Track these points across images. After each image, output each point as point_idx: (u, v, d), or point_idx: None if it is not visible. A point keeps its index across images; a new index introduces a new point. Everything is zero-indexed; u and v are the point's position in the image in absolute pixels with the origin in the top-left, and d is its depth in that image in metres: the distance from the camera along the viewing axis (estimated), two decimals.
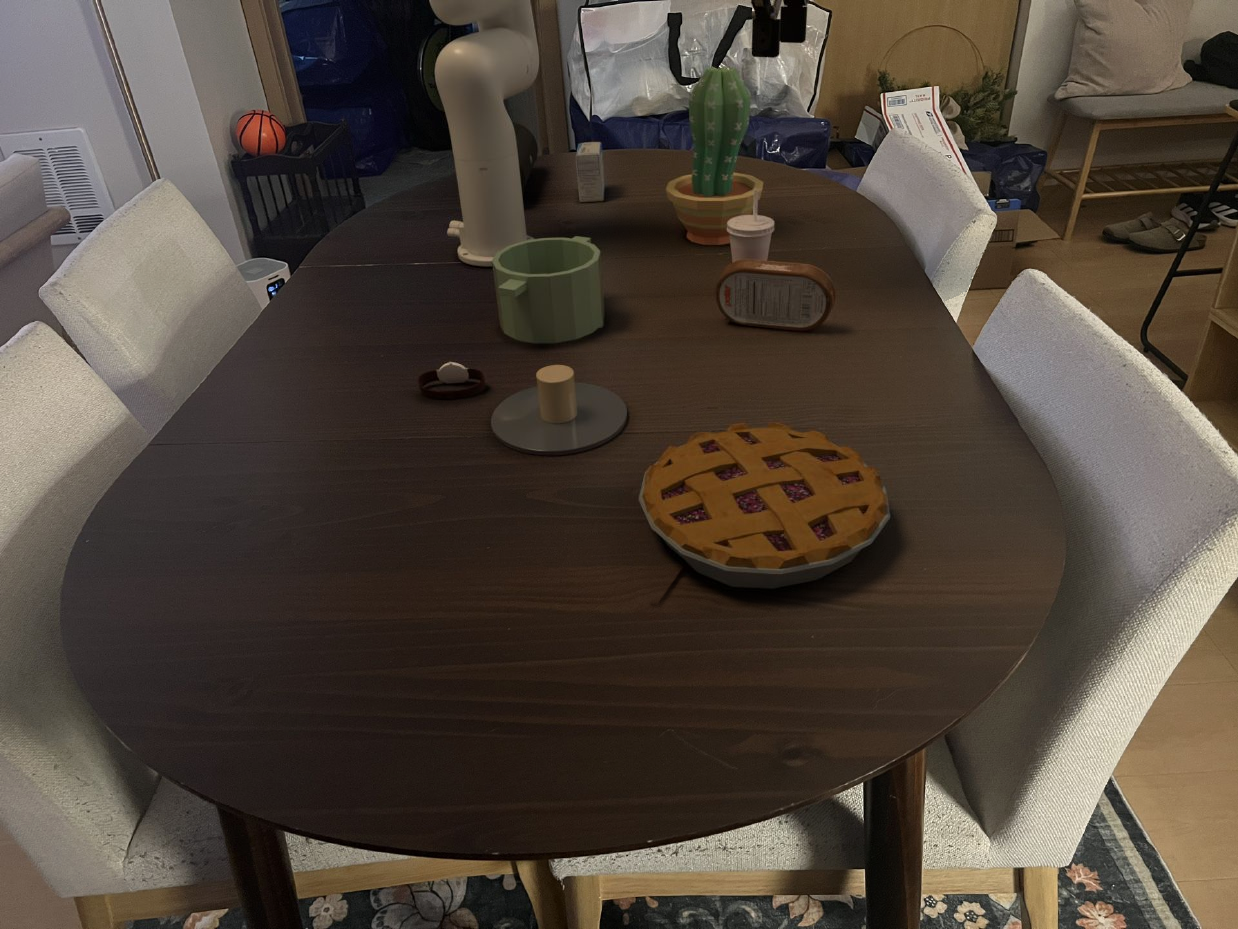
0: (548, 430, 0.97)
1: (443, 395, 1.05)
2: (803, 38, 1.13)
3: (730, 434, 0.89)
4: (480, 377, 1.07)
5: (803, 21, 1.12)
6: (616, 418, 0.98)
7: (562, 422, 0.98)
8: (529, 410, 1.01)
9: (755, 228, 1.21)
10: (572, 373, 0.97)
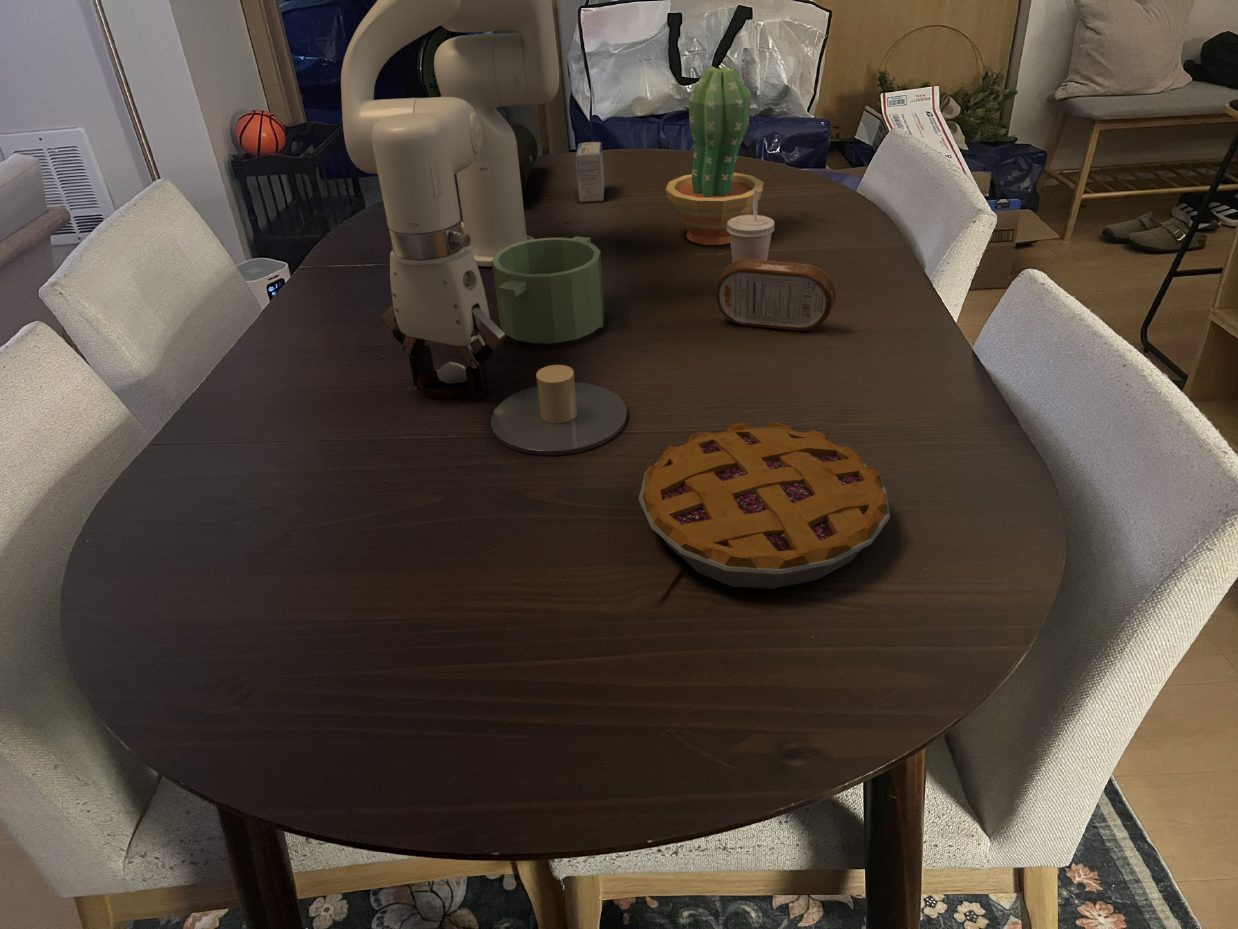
0: (548, 430, 0.97)
1: (443, 395, 1.05)
2: (470, 395, 1.04)
3: (730, 434, 0.89)
4: None
5: (468, 379, 1.03)
6: (616, 418, 0.98)
7: (562, 422, 0.98)
8: (529, 410, 1.01)
9: (755, 228, 1.21)
10: (572, 373, 0.97)
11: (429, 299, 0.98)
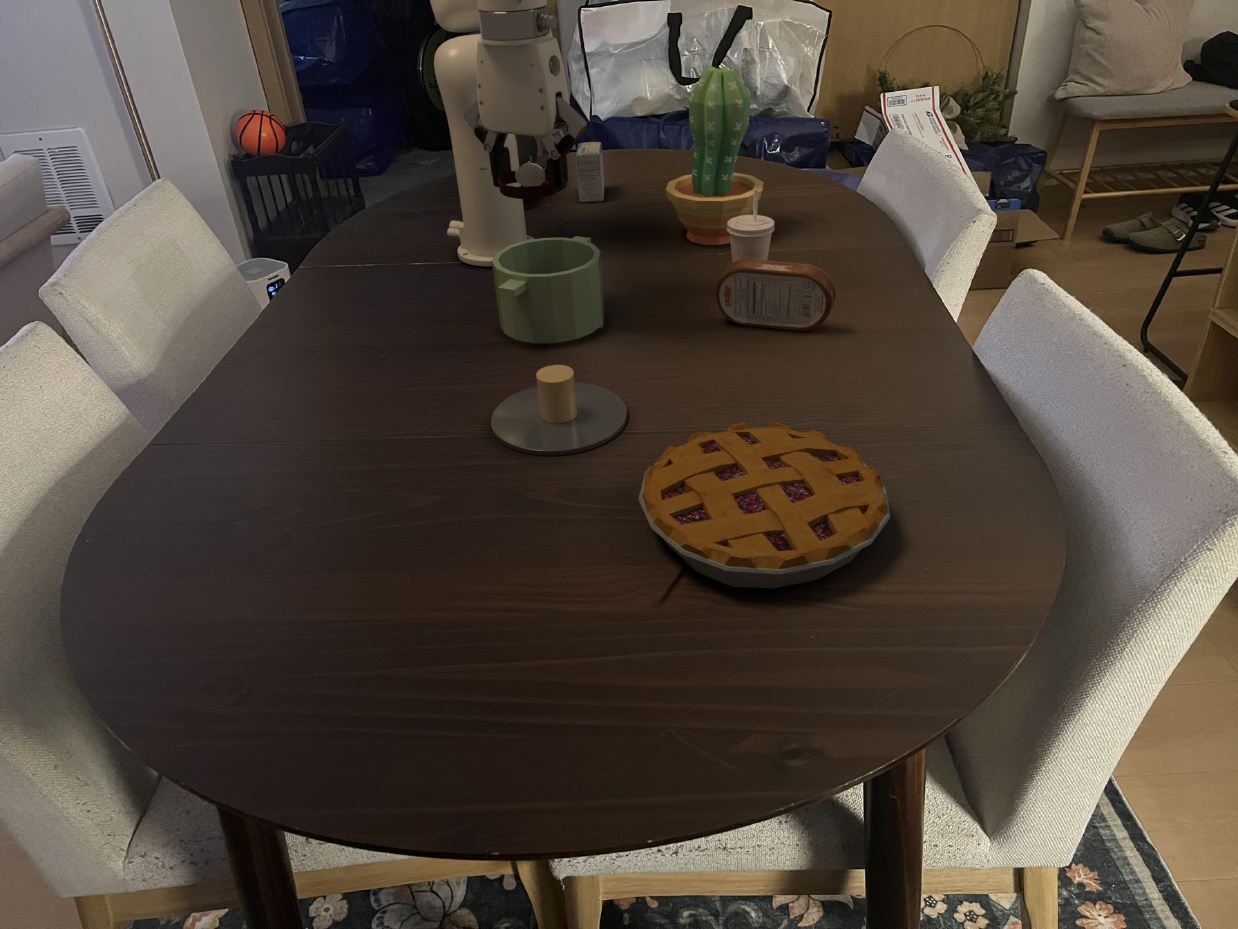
0: (548, 430, 0.97)
1: (522, 190, 1.09)
2: (549, 189, 1.08)
3: (730, 434, 0.89)
4: None
5: (548, 172, 1.07)
6: (616, 418, 0.98)
7: (562, 422, 0.98)
8: (529, 410, 1.01)
9: (755, 228, 1.21)
10: (572, 373, 0.97)
11: (515, 85, 1.02)
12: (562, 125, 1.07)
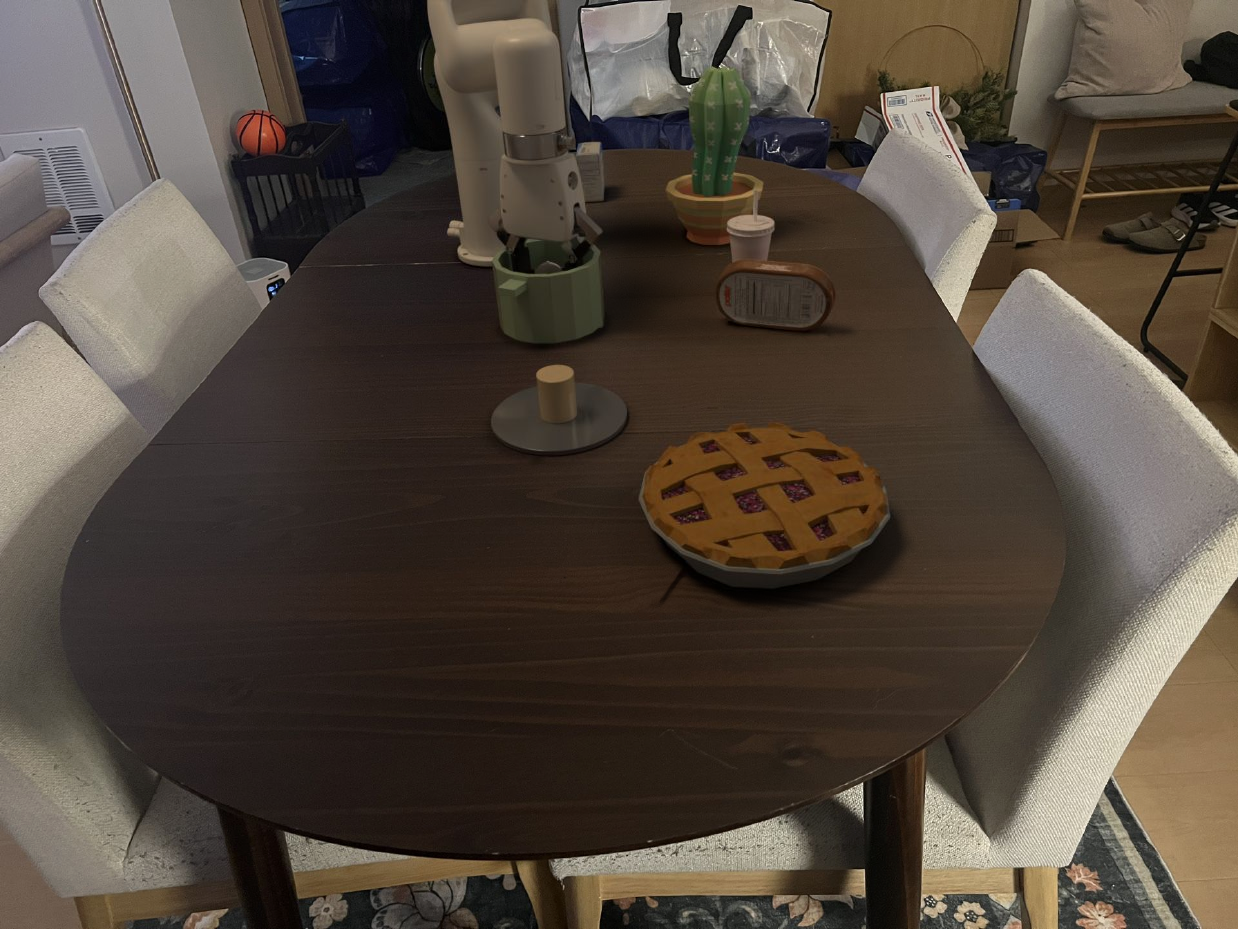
0: (548, 430, 0.97)
1: None
2: None
3: (730, 434, 0.89)
4: None
5: None
6: (616, 418, 0.98)
7: (562, 422, 0.98)
8: (529, 410, 1.01)
9: (755, 228, 1.21)
10: (572, 373, 0.97)
11: (536, 198, 1.10)
12: (579, 230, 1.16)
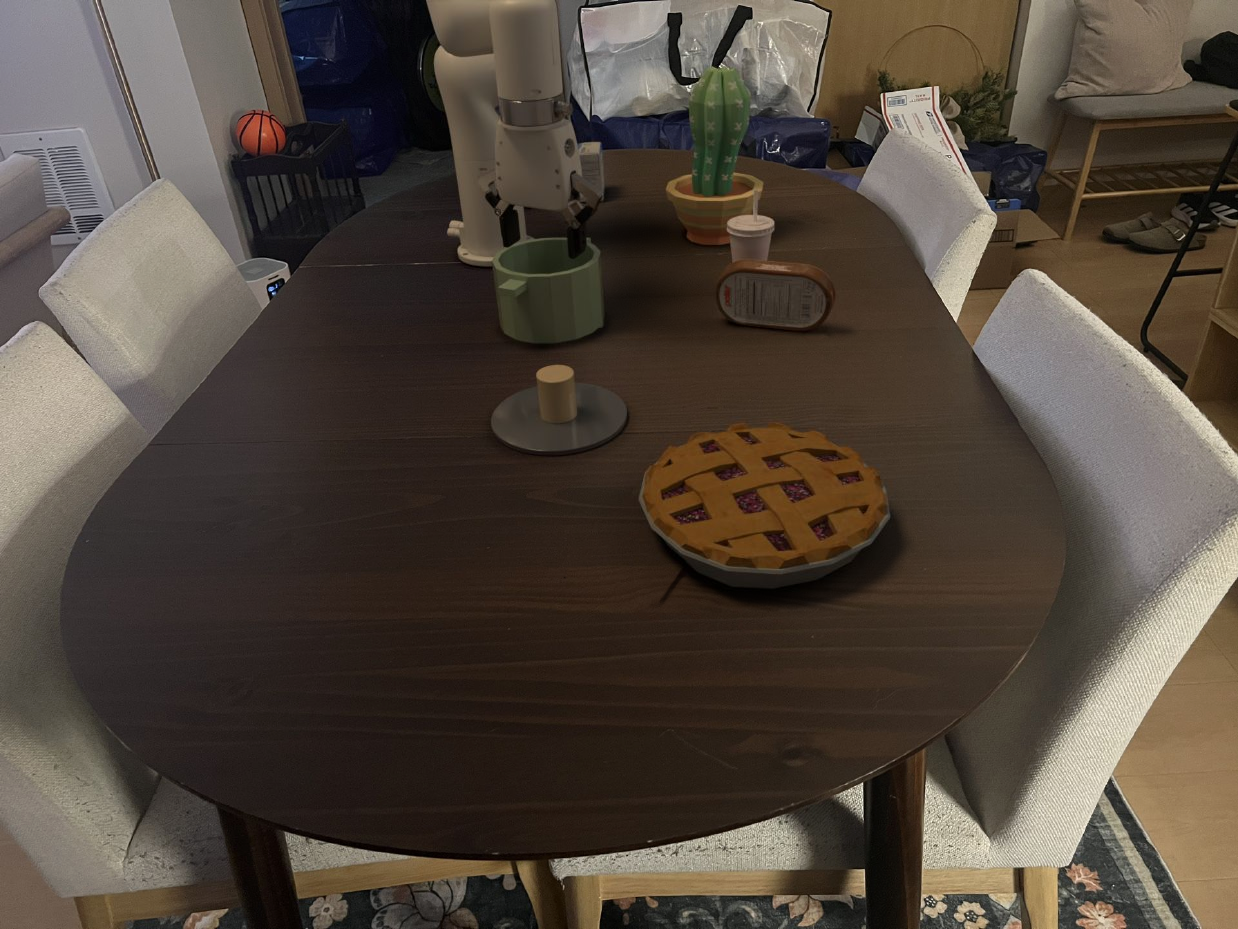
0: (548, 430, 0.97)
1: None
2: (569, 255, 1.14)
3: (730, 434, 0.89)
4: None
5: (568, 239, 1.13)
6: (616, 418, 0.98)
7: (562, 422, 0.98)
8: (529, 410, 1.01)
9: (755, 228, 1.21)
10: (572, 373, 0.97)
11: (532, 165, 1.09)
12: None
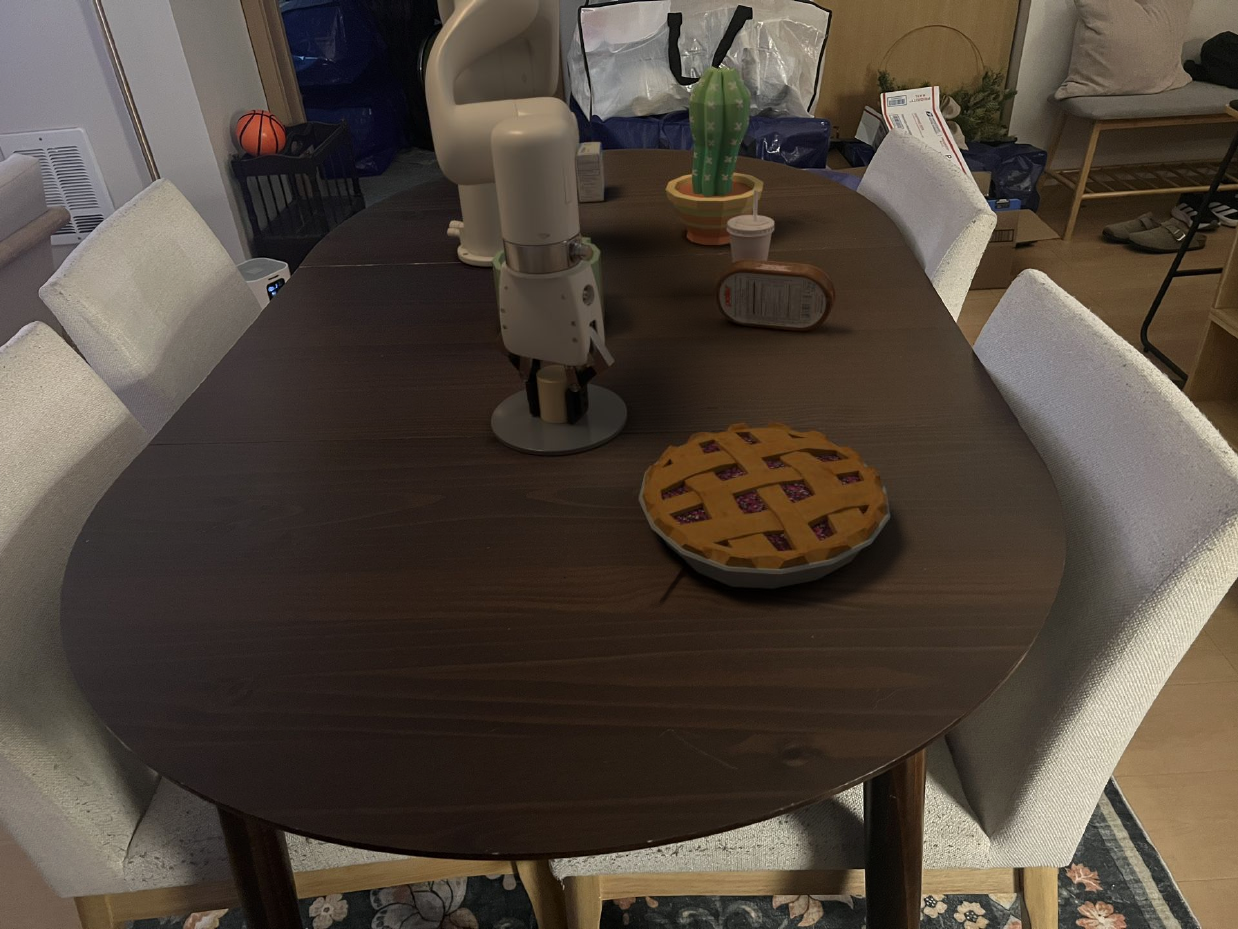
0: (548, 430, 0.97)
1: None
2: (568, 419, 0.98)
3: (730, 434, 0.89)
4: None
5: (567, 403, 0.97)
6: (616, 418, 0.98)
7: (562, 422, 0.98)
8: (529, 410, 1.01)
9: (755, 228, 1.21)
10: None
11: (544, 315, 0.91)
12: None
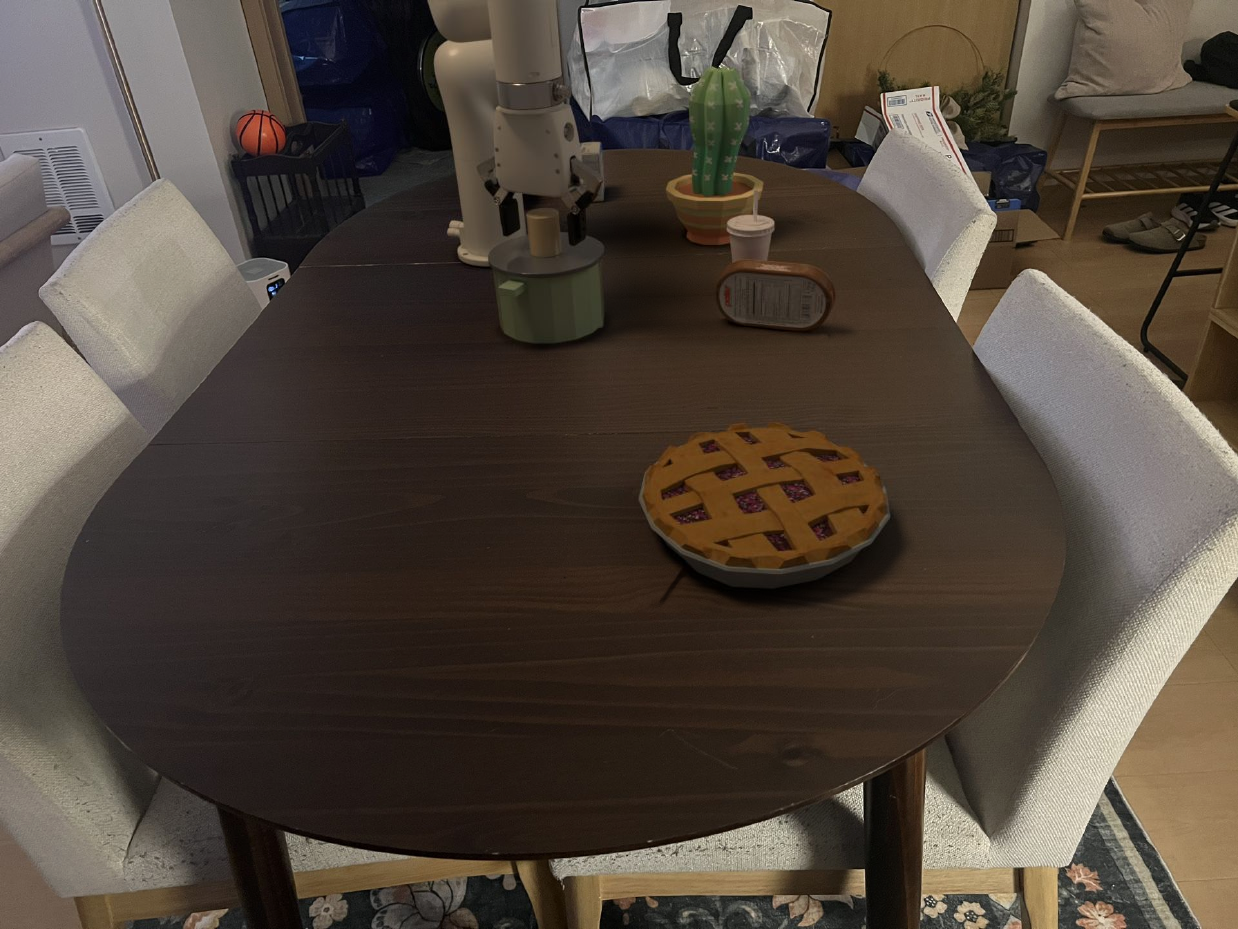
0: (536, 261, 1.14)
1: None
2: (569, 241, 1.13)
3: (730, 434, 0.89)
4: None
5: (568, 226, 1.12)
6: (594, 253, 1.15)
7: (548, 256, 1.15)
8: (520, 249, 1.18)
9: (755, 228, 1.21)
10: (557, 212, 1.14)
11: (532, 150, 1.07)
12: None
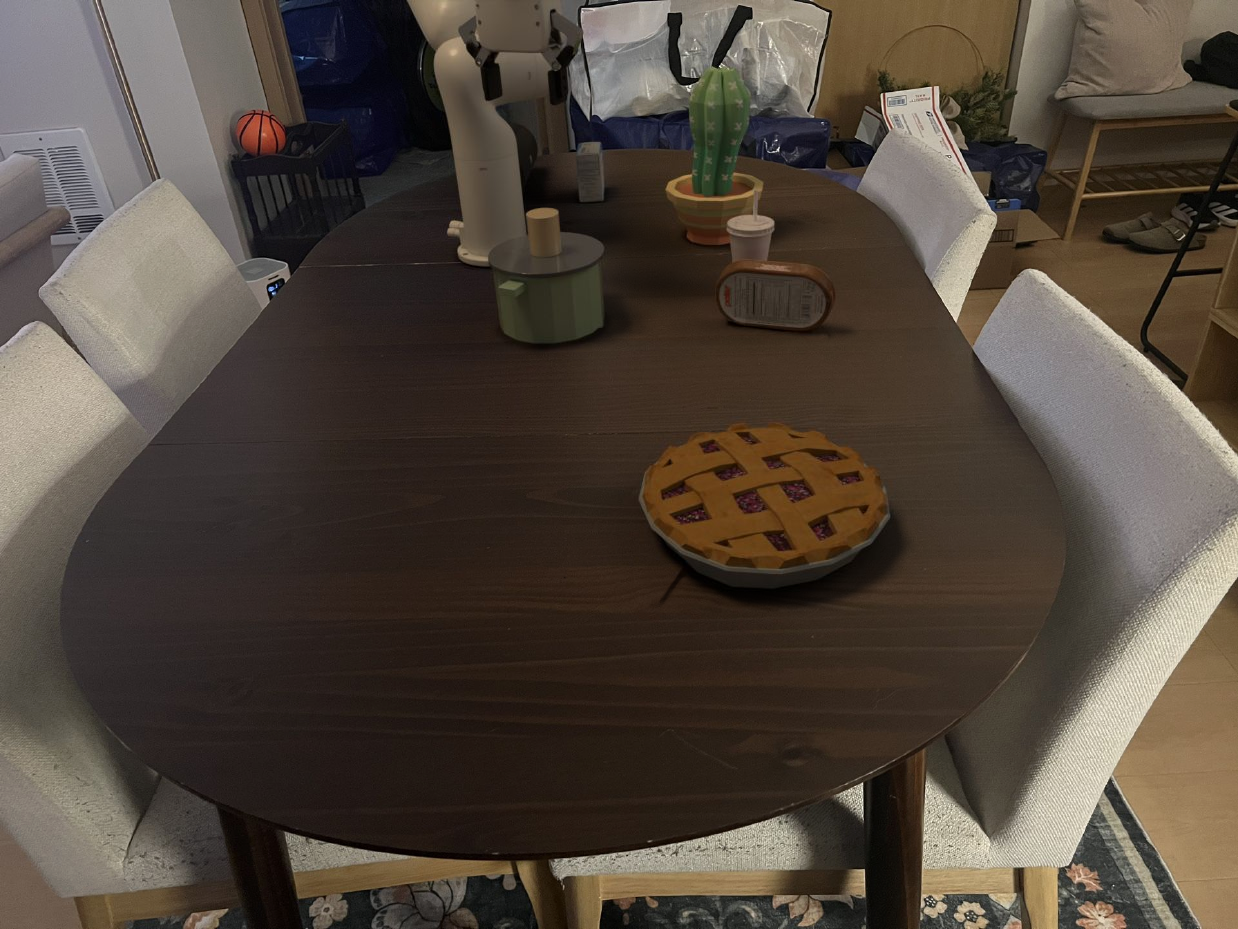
0: (536, 261, 1.14)
1: None
2: (550, 101, 1.13)
3: (730, 434, 0.89)
4: None
5: (549, 84, 1.12)
6: (594, 253, 1.15)
7: (548, 256, 1.15)
8: (520, 249, 1.18)
9: (755, 228, 1.21)
10: (557, 212, 1.14)
11: (512, 2, 1.08)
12: None
